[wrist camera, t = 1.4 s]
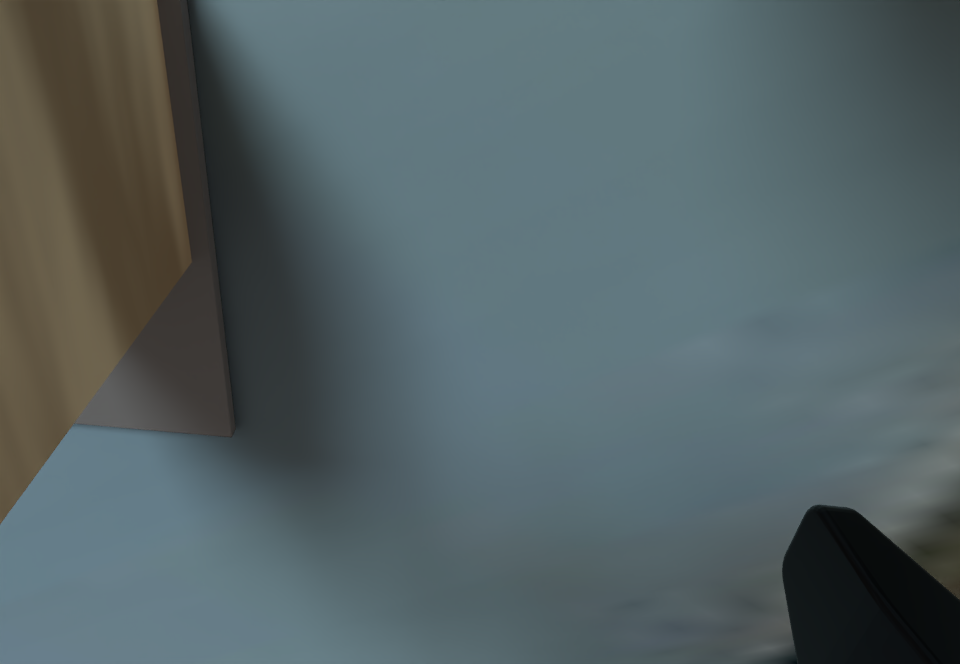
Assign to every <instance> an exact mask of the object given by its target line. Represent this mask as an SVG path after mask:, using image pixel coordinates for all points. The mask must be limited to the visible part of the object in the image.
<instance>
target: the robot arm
mask: <svg viewBox="0 0 960 664" xmlns="http://www.w3.org/2000/svg"><path fill="white" fill-rule="evenodd" d="M782 576H783V583H784V589H785V595H786V600H787V606H788V612H789V617H790V623H791V629H792V634H793V640H794V646H795V652H796V657H797V663H798V664H960V600H959V599H958V598H957V597H956V596H954V595H953V594H952V593H951V592H950V591H949V590H947V589H946V588H945V587H944V586H943V585H942V584H941V583H939V582H938V581H937V580H936V579H935V578H934V577H932V576H931V575H930V574H929V573H928V572H927V571H926V570H924V569H923V568H922V567H921V566H920V565H919V564H917V563H916V562H915V561H914V560H913V559H912V558H911V557H909V556H908V555H907V554H906V553H905V552H904V551H902V550H901V549H900V548H899V547H898V546H897V545H896V544H894V543H893V542H892V541H891V540H890V539H889V538H887V537H886V536H885V535H884V534H883V533H882V532H881V531H879V530H878V529H877V528H876V527H875V526H874V525H872V524H871V523H870V522H869V521H868V520H867V519H866V518H864V517H863V516H862V515H861V514H859V513H858V512H857V511H855V510H853V509H850V508H847V507H837V506H827V505H815V506H812V507H811V508H810V509H808V510H807V512H806V514H805V515H804V517H803V519H802V521H801V523H800V525H799V527H798V529H797V531H796V533H795V536H794V538H793V540H792V542H791V544H790V546H789V548H788V550H787V552H786V554H785V557H784V561H783V568H782Z"/></svg>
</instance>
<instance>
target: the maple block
mask: <svg viewBox="0 0 960 664" xmlns="http://www.w3.org/2000/svg"><path fill="white" fill-rule="evenodd" d="M191 263H192V259H191V251H190V244H189V236H188V229H187V221H186V214H185V206H184V199H183V191H182V184H181V176H180V169H179V162H178V154H177V147H176V139H175V132H174V124H173V117H172V109H171V102H170V94H169V87H168V79H167V72H166V65H165V57H164V50H163V42H162V35H161V27H160V20H159V12H158V5H157V0H0V524H1V522H2V521H3V520H4V518H5V517H6V516H7V514H8V513H9V511H10V510H11V509H12V507H13V506H14V505H15V503H16V502H17V500H18V499H19V498H20V496H21V495H22V494H23V492H24V491H25V490H26V488H27V487H28V485H29V484H30V483H31V481H32V480H33V479H34V477H35V476H36V475H37V473H38V472H39V470H40V469H41V468H42V466H43V465H44V464H45V462H46V461H47V459H48V458H49V457H50V455H51V454H52V453H53V451H54V450H55V449H56V447H57V446H58V444H59V443H60V442H61V440H62V439H63V438H64V436H65V435H66V434H67V432H68V431H69V429H70V428H71V427H72V425H73V424H74V423H75V421H76V420H77V418H78V417H79V416H80V414H81V413H82V412H83V410H84V409H85V408H86V406H87V405H88V403H89V402H90V401H91V399H92V398H93V397H94V395H95V394H96V392H97V391H98V390H99V388H100V387H101V386H102V384H103V383H104V382H105V380H106V379H107V377H108V376H109V375H110V373H111V372H112V371H113V369H114V368H115V367H116V365H117V364H118V362H119V361H120V360H121V358H122V357H123V356H124V354H125V353H126V351H127V350H128V349H129V347H130V346H131V345H132V343H133V342H134V341H135V339H136V338H137V336H138V335H139V334H140V332H141V331H142V330H143V328H144V327H145V326H146V324H147V323H148V321H149V320H150V319H151V317H152V316H153V315H154V313H155V312H156V310H157V309H158V308H159V306H160V305H161V304H162V302H163V301H164V300H165V298H166V297H167V295H168V294H169V293H170V291H171V290H172V289H173V287H174V286H175V285H176V283H177V282H178V280H179V279H180V278H181V276H182V275H183V274H184V272H185V271H186V269H187V268H188V267H189V265H190V264H191Z"/></svg>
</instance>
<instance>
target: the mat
mask: <svg viewBox="0 0 960 664" xmlns="http://www.w3.org/2000/svg"><path fill="white" fill-rule="evenodd" d="M157 5H158V12H159V20H160V27H161V35H162V42H163V50H164V57H165V65H166V72H167V79H168V87H169V94H170V102H171V109H172V117H173V124H174V132H175V139H176V147H177V154H178V162H179V169H180V176H181V184H182V191H183V199H184V206H185V214H186V221H187V229H188V236H189V244H190V251H191V259H192V263H191V264H190V265H189V267H188V268H187V269H186V271H185V272H184V274H183V275H182V276H181V278H180V279H179V280H178V282H177V283H176V285H175V286H174V287H173V289H172V290H171V291H170V293H169V294H168V295H167V297H166V298H165V300H164V301H163V302H162V304H161V305H160V306H159V308H158V309H157V310H156V312H155V313H154V315H153V316H152V317H151V319H150V320H149V321H148V323H147V324H146V326H145V327H144V328H143V330H142V331H141V332H140V334H139V335H138V336H137V338H136V339H135V341H134V342H133V343H132V345H131V346H130V347H129V349H128V350H127V351H126V353H125V354H124V356H123V357H122V358H121V360H120V361H119V362H118V364H117V365H116V367H115V368H114V369H113V371H112V372H111V373H110V375H109V376H108V377H107V379H106V380H105V382H104V383H103V384H102V386H101V387H100V388H99V390H98V391H97V392H96V394H95V395H94V397H93V398H92V399H91V401H90V402H89V403H88V405H87V406H86V408H85V409H84V410H83V412H82V413H81V414H80V416H79V417H78V418H77V420H76V421H75V424H86V425H98V426H109V427H120V428H132V429H143V430H154V431H166V432H177V433H188V434H200V435H211V436H222V437H232V436H233V434H234V431H235V429H236V427H235V418H234V409H233V401H232V392H231V383H230V374H229V365H228V356H227V348H226V339H225V330H224V321H223V312H222V304H221V295H220V286H219V277H218V268H217V260H216V251H215V242H214V233H213V224H212V216H211V207H210V198H209V189H208V180H207V172H206V163H205V154H204V145H203V136H202V127H201V119H200V110H199V101H198V92H197V83H196V75H195V66H194V57H193V48H192V39H191V31H190V22H189V13H188V4H187V0H157Z"/></svg>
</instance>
